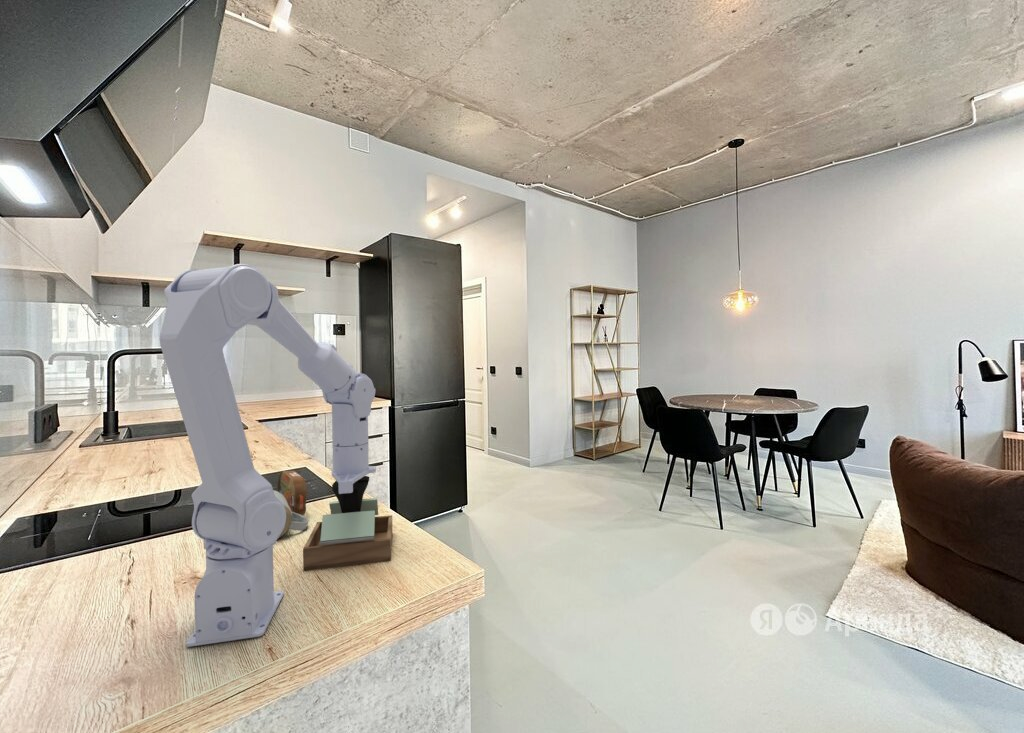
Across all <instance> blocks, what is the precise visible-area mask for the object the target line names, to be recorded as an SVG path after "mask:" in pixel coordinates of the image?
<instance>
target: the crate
mask: <svg viewBox="0 0 1024 733" xmlns="http://www.w3.org/2000/svg"><path fill="white" fill-rule="evenodd" d="M321 528H322V521H317V522H316V523H315V525H314V528H313V529H312V532H311V533H310V535H309V536H308V539H307V540H306V543H305V545H304V546H303V548H302V559H303V563H302V564H303V566H302V569H303V572H305V571H314V570H320V569H322V570H323V569H328V568H329V569H330V568H331V569H332V568H339V567H347V566H355V565H356V566H357V565H364V564H372V563H373V564H374V563H381V562H391V558H392V548H391V547H392V545H393V515H381V516H375V527H374V540H365V541H355V542H346V543H336V544H326V545H320V542H321V541H320V539H321Z"/></svg>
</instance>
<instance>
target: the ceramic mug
mask: <svg viewBox="0 0 1024 733" xmlns="http://www.w3.org/2000/svg"><path fill="white" fill-rule="evenodd" d="M273 492H274V494H275V496H276V497H277V499H279V500H280V501H281V502H282V503H283V505H284V507H285V510H286V522H285V525H284V528H283V531H282V532H281V534H280V536H279V537H278V538H277V540H278V539H279V538H281V537H282V536H283V535H285V534H286V533H287V532H288V530H291V531H292V530H293V531H298V532H300V531H305V530H306V529H307V527H308V525H309V522H310V521H309V519H308V518H307V517H305V515H304V516H302V515H300V514H297V513H295V512H292V511H291V509H290V507H289V505H288V503H287V501H286V499H285V497H284V496H283V495H282V494H281V493H279V492H278V490H274V489H273Z"/></svg>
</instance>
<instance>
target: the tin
mask: <svg viewBox="0 0 1024 733" xmlns="http://www.w3.org/2000/svg"><path fill="white" fill-rule="evenodd" d="M277 492H279V493H281V494H282V495H283V496H284V497H285V499H286V501H287V503H288V505H289V507H290V509H291V511H292V512H295V513H297V514H300V515H302V516H304V517H305V514H306V511H307V494H308V488H307V482H306V480H305V478H304V477H303V476H301V474H300V473H298V472H297V471H295V470H285V471H284V470H281V471H280V472H279V475H278V481H277Z"/></svg>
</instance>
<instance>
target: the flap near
mask: <svg viewBox="0 0 1024 733" xmlns="http://www.w3.org/2000/svg"><path fill="white" fill-rule="evenodd" d="M375 517H376V515H375V510H374V511H362V512H351V513H339V514H331V513H329V514H322V517H321V518H322V519H321V522H322V528H321V539H320V541H321V542H320V545H326V544H336V543H346V542H355V541H365V540H374V527H375Z"/></svg>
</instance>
